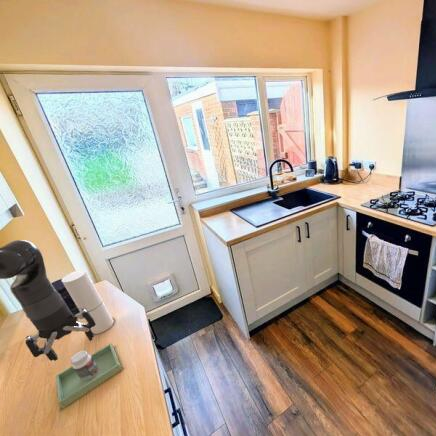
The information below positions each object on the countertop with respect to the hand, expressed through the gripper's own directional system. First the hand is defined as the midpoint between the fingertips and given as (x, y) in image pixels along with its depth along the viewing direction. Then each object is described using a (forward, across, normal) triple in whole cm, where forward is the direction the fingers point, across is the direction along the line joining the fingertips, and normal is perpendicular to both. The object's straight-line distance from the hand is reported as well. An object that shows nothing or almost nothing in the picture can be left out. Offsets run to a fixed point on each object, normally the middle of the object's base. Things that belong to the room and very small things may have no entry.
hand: (74, 348), depth 74 cm
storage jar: (+12, 0, -43) cm, 45 cm away
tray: (+12, 0, 0) cm, 12 cm away
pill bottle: (+12, 0, 0) cm, 12 cm away
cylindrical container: (+12, -7, -22) cm, 26 cm away
